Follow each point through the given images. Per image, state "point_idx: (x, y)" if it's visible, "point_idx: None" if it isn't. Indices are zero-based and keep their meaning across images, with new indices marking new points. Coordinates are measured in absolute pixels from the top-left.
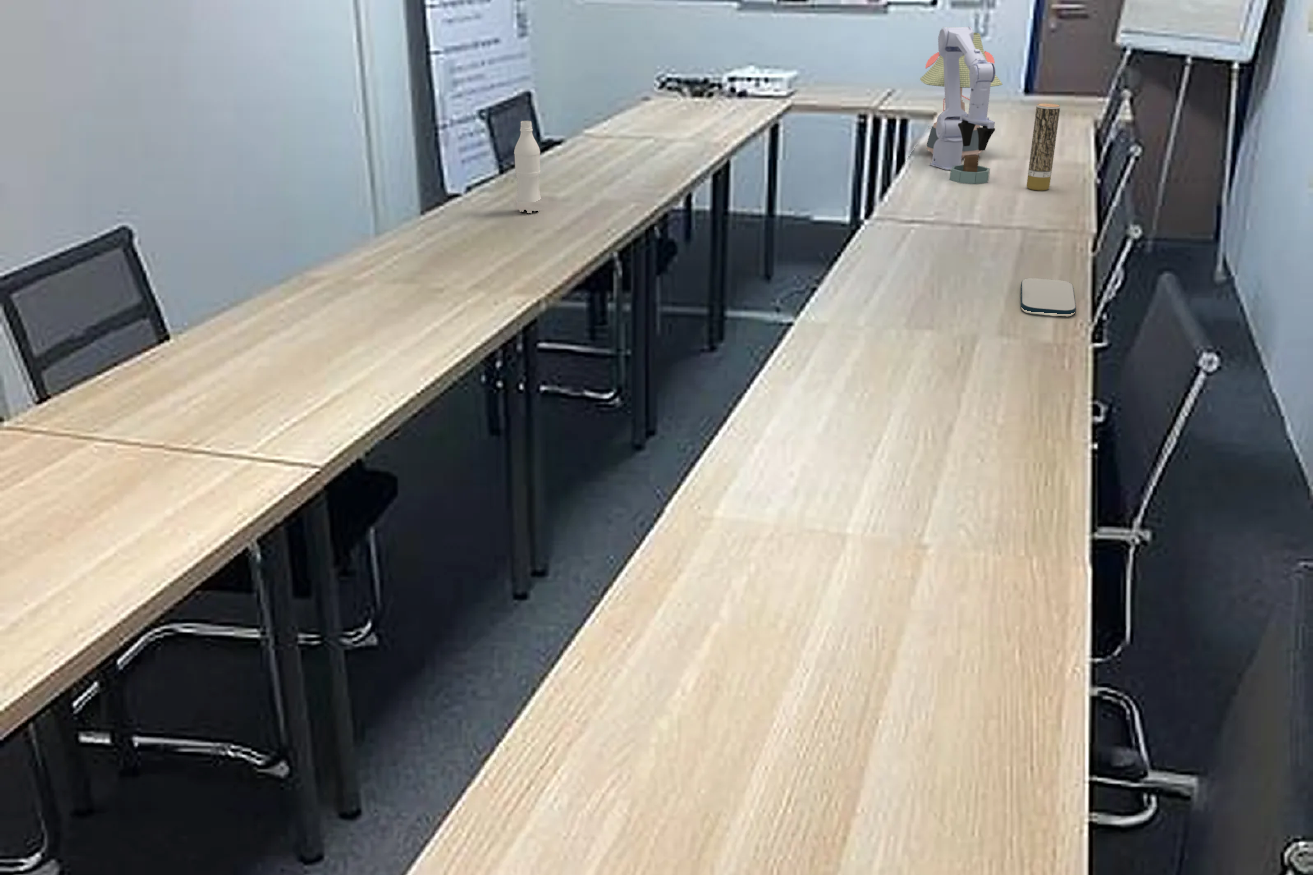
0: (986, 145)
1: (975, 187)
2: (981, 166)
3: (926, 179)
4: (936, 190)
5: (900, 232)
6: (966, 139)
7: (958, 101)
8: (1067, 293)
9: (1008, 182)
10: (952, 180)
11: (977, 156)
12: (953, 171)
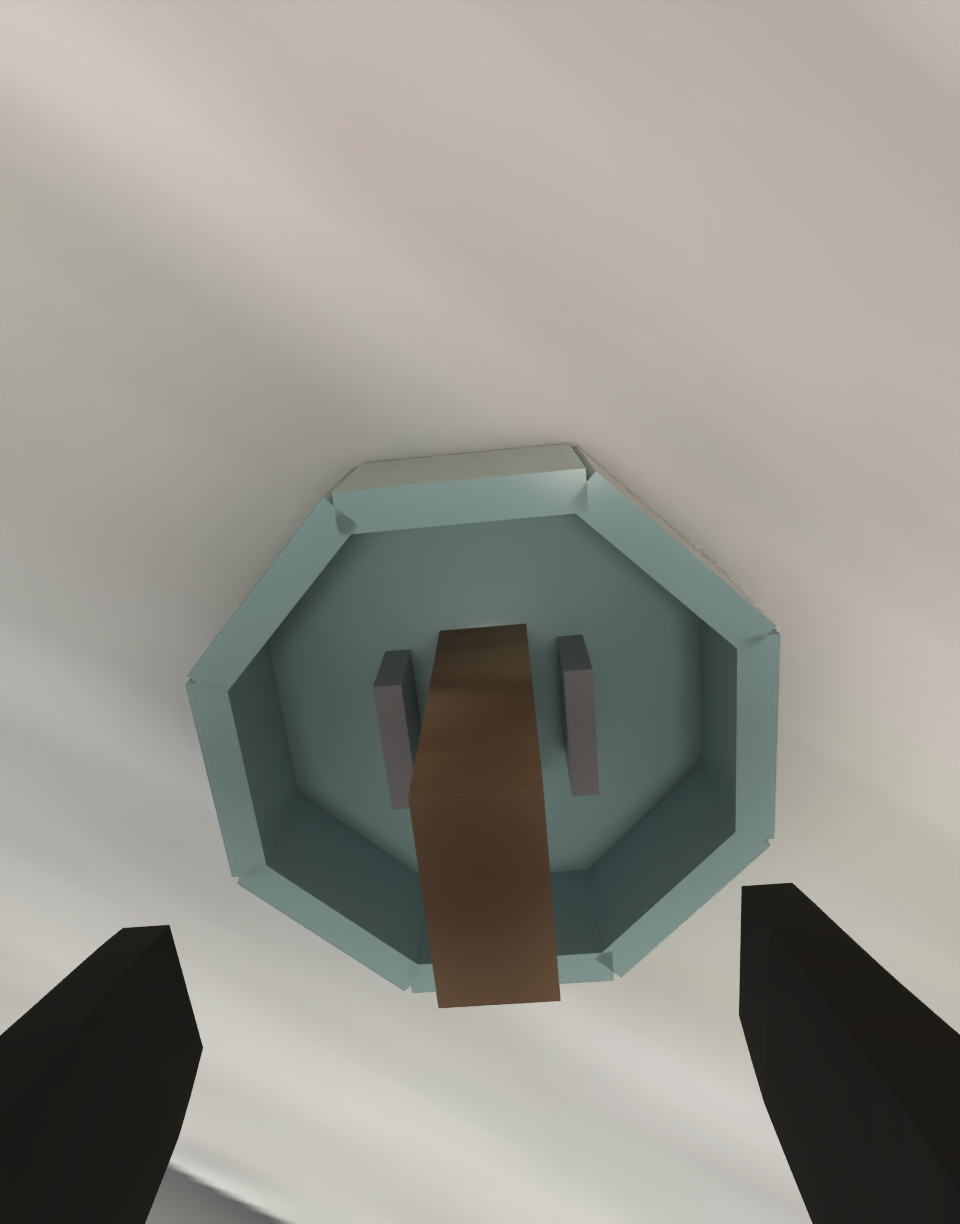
0: (873, 966)
1: (875, 842)
2: (396, 516)
3: (329, 1072)
4: (797, 1204)
5: None
6: (119, 1174)
7: None
8: None
9: (847, 269)
10: None
11: (543, 808)
12: None
